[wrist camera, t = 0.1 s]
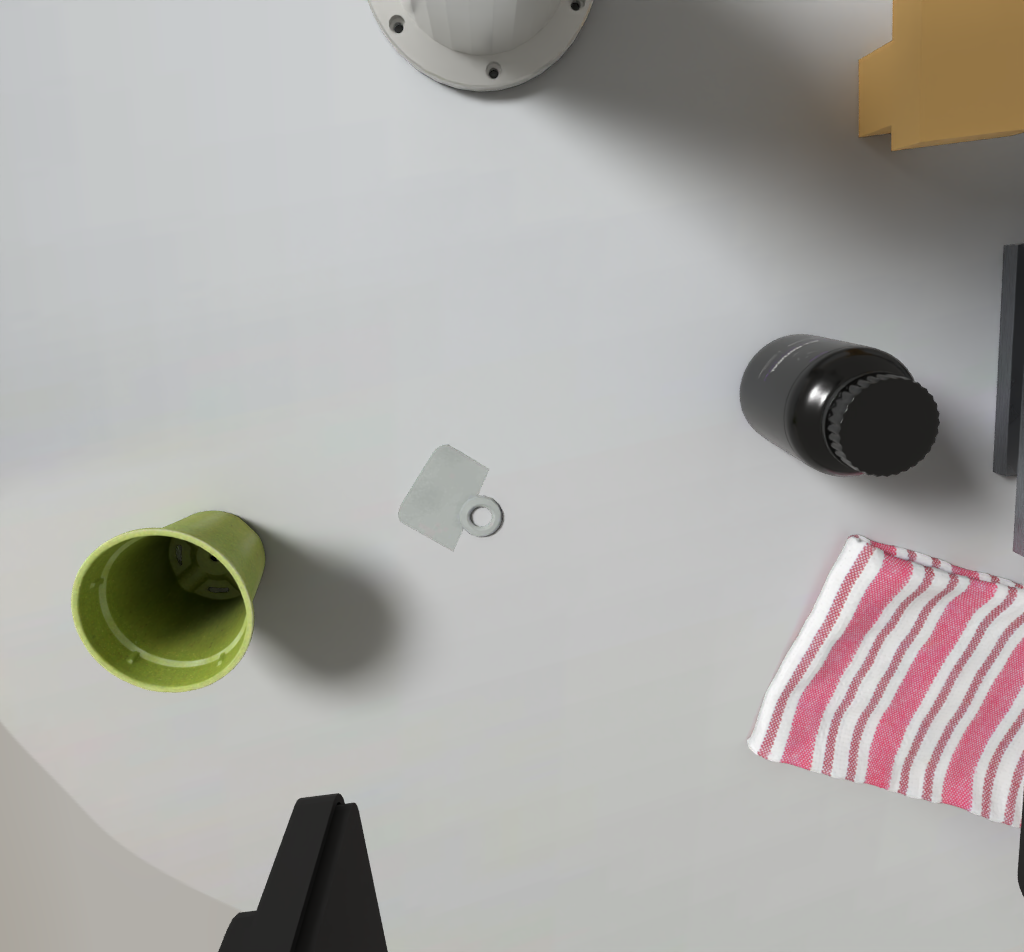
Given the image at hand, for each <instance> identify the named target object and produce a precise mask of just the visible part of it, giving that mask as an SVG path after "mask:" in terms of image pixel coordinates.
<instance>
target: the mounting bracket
mask: <svg viewBox="0 0 1024 952" xmlns="http://www.w3.org/2000/svg"><path fill="white" fill-rule="evenodd" d="M488 471H489V469H488V468H486V467H485V466H483V465H481V464H480V463H478V462H476V461H475V460H473V459H471V458H470V457H468V456H466V455H465V454H463V453H461V452H460V451H458V450H456V449H455V448H453V447H451V446H449V445H443V446H440V447H438V448H437V449H436V450H435V451H434V452H433V453H432V455H431V457H430V458H429V460H428V461H427V463H426V465H425V466H424V468H423V470H422V471H421V473H420V474H419V476H418V478H417V479H416V481H415V483H414V484H413V486H412V487H411V489H410V491H409V492H408V494H407V496H406V497H405V499H404V500H403V502H402V504H401V505H400V508H399V512H398V516H399V519H400V522H402V523H403V524H405V525H407V526H409V527H410V528H412V529H414V530H416V531H418V532H419V533H421V534H423V535H425V536H427V537H428V538H430V539H432V540H434V541H435V542H437V543H439V544H441V545H443V546H444V547H446V548H448V549H450V550H451V551H454V549H455V547H456V545H457V542H458V540H459V538H460V535H461V533H462V531H463V529H465V530H466V531H467V532H468V533H469V534H471V535H474V536H477V537H481V536H488V535H490V534H492V533H494V532H495V531H496V530H497V529H498V528H499V527H500V524H501V522H502V510H501V508H500V506H499V504H498V503H497V502H496V501H495V500H494V499H493V498H490V497H487V496H478V494H479V492H480V489H481V487H482V485H483V482H484V480H485V478H486V475H487V473H488ZM477 507H485V508H487V509H488V510H489V511H490V512H491V514H492V519H491V522H490V523H489V524H488V525H486V526H483V527H479V526H476V525H474V524H473V523H472V522H471V519H470V515H471V512H472V511H473V510H474V509H475V508H477Z"/></svg>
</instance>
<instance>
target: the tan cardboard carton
mask: <svg viewBox="0 0 1024 952" xmlns="http://www.w3.org/2000/svg"><path fill="white" fill-rule="evenodd" d="M1023 132H1024V0H893V26H892V41H890V42H889V43H887V44H885V45H884V46H882V47H880V48H878V49H877V50H875V51H873V52H872V53H870V54H868V55H867V56H865V57H863V58H861V59H860V60H859V137H866V136H874V135H882V134H890V133H891V151H896V150H904V149H912V148H920V147H927V146H935V145H943V144H951V143H959V142H967V141H975V140H983V139H990V138H998V137H1006V136H1012V135H1016V134H1020V133H1023Z"/></svg>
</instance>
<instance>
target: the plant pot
mask: <svg viewBox="0 0 1024 952" xmlns="http://www.w3.org/2000/svg"><path fill="white" fill-rule="evenodd" d="M178 545H181V546H182V555H181V556H182V561H181V562H182V565H180V563H179V562H178V560H177V557H176V547H177V546H178ZM211 555H213V556H214V557H216V558H217V559H218V561H213V560H212V559H211ZM264 567H265V552H264V548H263V544H262V542H261V540H260V538H259V536H258V535H257V534H256V533H255V532H254V531H253V530H252V529H251V528H250V527H249V526H248V525H247V524H246V523H245V522H243V521H242V520H241V519H240V518H239V517H237V516H235V515H232V514H229V513H226V512H221V511H204V512H199V513H196V514H193V515H191V516H189V517H186V518H184V519H182V520H180V521H177V522H175V523H173V524H170V525H168V526H166V527H163V528H144V529H138V530H133V531H129V532H126V533H123V534H121V535H118V536H116V537H114V538H112V539H110V540H108V541H107V542H105V543H104V544H102V545H101V546H99V547H98V548H97V549H96V550H95V551H94V552H93V553H91V555H90V556H89V557H88V558H87V559H86V560H85V561H84V563H83V564H82V566H81V567H80V569H79V571H78V573H77V576H76V578H75V581H74V584H73V589H72V596H71V609H72V615H73V620H74V624H75V627H76V630H77V633H78V635H79V637H80V639H81V640H82V642H83V644H84V645H85V647H86V648H87V650H88V652H89V653H90V654H91V655H92V657H93V658H94V659H95V660H96V661H97V662H98V663H99V664H100V665H101V666H102V667H103V668H105V669H106V670H107V671H108V672H110V673H111V674H112V675H114V676H116V677H118V678H119V679H121V680H123V681H126V682H128V683H130V684H132V685H135V686H137V687H140V688H143V689H146V690H151V691H157V692H172V693H176V692H186V691H191V690H196V689H200V688H203V687H206V686H208V685H211V684H213V683H214V682H216V681H218V680H219V679H221V678H223V677H224V676H225V675H227V674H228V673H229V672H230V671H231V670H232V669H234V668H235V666H236V665H237V664H238V663H239V662H240V660H241V659H242V657H243V656H244V654H245V652H246V651H247V648H248V646H249V643H250V641H251V638H252V634H253V629H254V608H253V603H252V602H253V599H254V596H255V593H256V591H257V588H258V586H259V583H260V580H261V577H262V574H263V571H264ZM208 587H216V588H229V590H228V592H219V593H213V592H210V591H209V590H208Z"/></svg>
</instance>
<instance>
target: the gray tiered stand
mask: <svg viewBox="0 0 1024 952" xmlns="http://www.w3.org/2000/svg"><path fill="white" fill-rule="evenodd" d="M993 472H996V473H999V474H1001V475H1004V476H1011V475H1017V489H1016V506H1015V524H1014V541H1013V551H1014V552H1015V553H1017V554H1019V555H1021V556H1023V557H1024V243H1020V244H1012V245H1004V257H1003V277H1002V298H1001V319H1000V339H999V360H998V381H997V401H996V422H995V443H994V463H993Z"/></svg>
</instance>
